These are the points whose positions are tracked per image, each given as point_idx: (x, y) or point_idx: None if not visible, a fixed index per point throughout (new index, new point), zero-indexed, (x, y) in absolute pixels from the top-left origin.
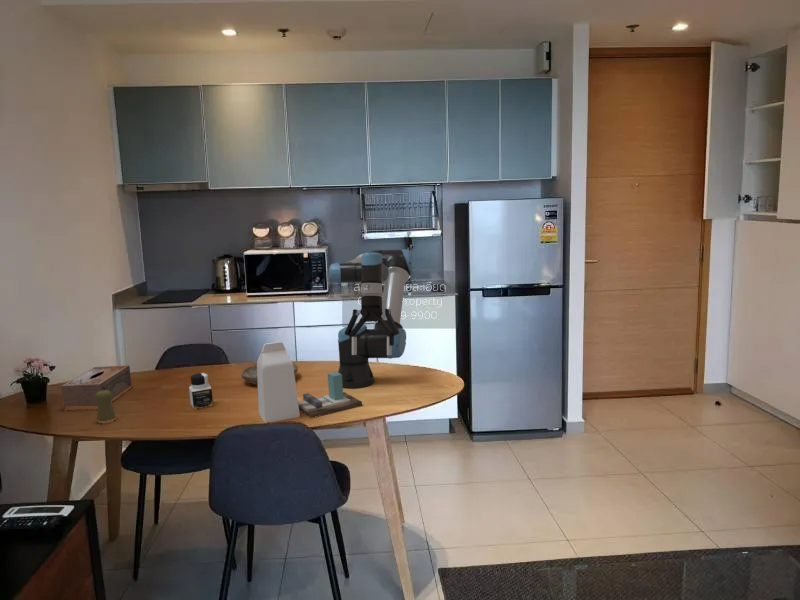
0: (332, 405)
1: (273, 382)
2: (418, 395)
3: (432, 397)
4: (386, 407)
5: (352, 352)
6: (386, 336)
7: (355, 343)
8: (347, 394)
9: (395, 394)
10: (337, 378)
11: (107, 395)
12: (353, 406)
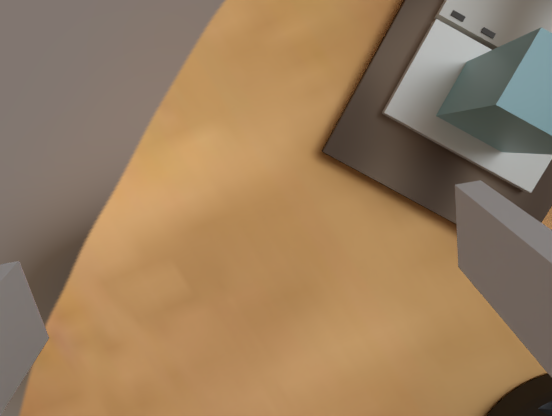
0: (441, 5)
1: None
2: (124, 407)
3: (41, 405)
4: (181, 179)
5: (483, 193)
6: None
7: (526, 306)
8: None
9: (247, 378)
10: (507, 68)
11: None
12: (348, 102)
